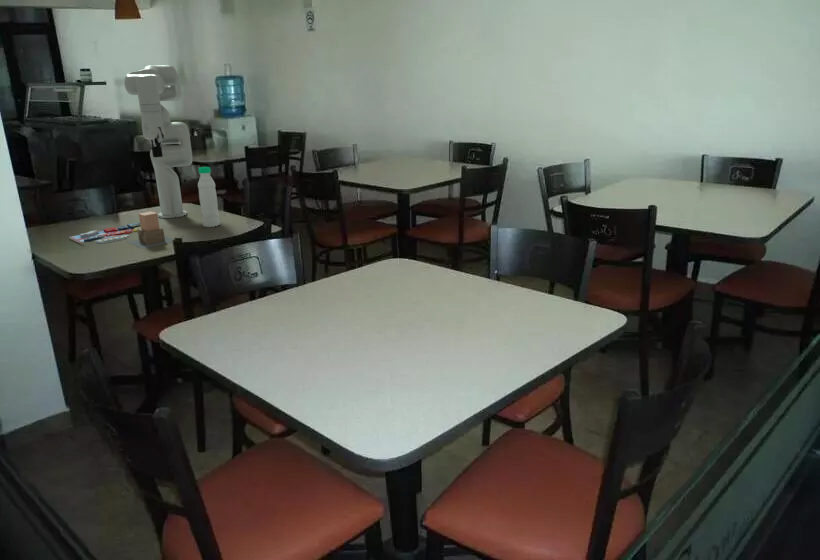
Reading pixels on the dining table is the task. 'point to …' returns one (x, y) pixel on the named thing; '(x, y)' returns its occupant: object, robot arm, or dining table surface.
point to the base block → (151, 236)
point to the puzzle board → (107, 234)
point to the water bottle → (208, 198)
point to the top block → (149, 221)
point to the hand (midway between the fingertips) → (157, 156)
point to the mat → (142, 245)
